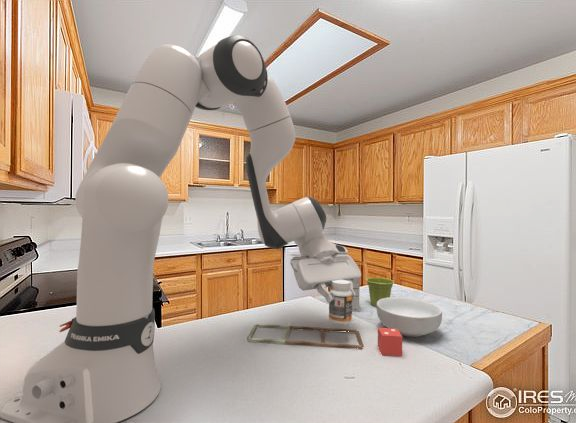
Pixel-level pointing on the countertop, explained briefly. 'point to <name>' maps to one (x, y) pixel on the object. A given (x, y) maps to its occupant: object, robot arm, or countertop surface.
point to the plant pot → (379, 289)
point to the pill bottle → (341, 302)
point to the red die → (390, 341)
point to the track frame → (304, 341)
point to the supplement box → (356, 299)
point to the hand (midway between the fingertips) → (342, 299)
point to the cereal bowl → (409, 315)
